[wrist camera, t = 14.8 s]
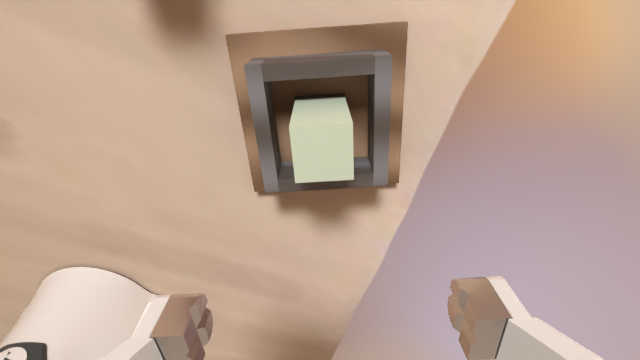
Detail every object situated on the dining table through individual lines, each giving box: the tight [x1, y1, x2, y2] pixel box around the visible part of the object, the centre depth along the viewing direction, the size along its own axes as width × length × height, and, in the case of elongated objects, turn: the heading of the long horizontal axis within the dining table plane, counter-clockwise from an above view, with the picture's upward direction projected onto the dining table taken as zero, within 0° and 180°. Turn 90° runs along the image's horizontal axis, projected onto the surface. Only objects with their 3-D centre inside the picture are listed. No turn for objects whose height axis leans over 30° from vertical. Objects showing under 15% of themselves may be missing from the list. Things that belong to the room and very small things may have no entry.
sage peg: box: [289, 93, 354, 183], centre depth 25 cm, size 4×4×8 cm
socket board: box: [226, 22, 408, 193], centre depth 27 cm, size 14×14×4 cm
